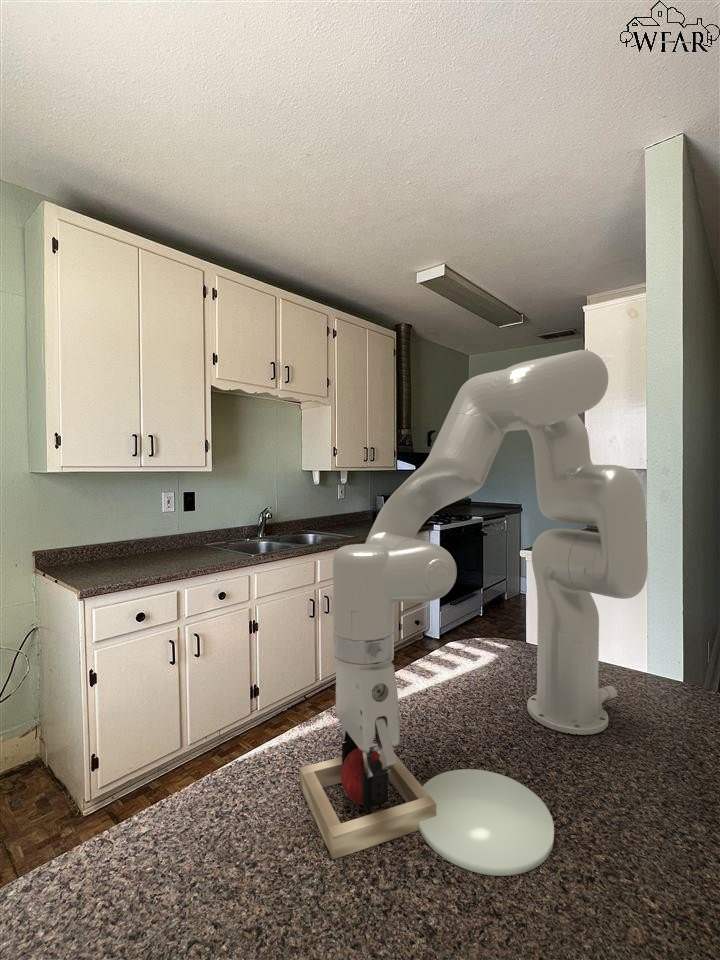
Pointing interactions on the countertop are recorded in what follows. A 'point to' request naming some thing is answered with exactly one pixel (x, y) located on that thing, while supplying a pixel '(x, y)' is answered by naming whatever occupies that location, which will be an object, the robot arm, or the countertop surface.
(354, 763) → the onion
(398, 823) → the frame
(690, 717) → the countertop surface
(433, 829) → the plate
